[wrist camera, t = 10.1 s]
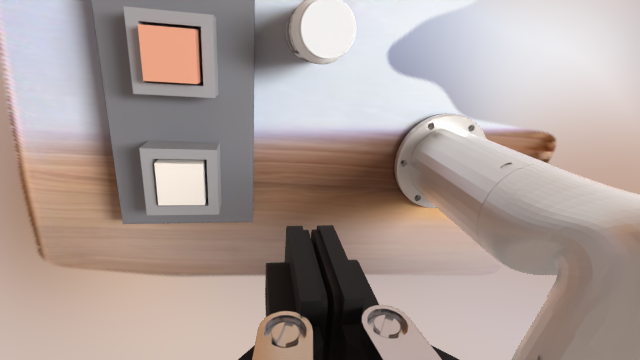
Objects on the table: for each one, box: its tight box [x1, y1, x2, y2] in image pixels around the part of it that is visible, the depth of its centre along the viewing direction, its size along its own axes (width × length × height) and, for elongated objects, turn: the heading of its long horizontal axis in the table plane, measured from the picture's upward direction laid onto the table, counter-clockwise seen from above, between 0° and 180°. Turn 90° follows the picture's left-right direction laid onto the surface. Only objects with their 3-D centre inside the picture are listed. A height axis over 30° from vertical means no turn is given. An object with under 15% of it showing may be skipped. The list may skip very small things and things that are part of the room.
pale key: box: [154, 159, 208, 205], centre depth 35 cm, size 4×4×3 cm
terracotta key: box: [138, 24, 203, 84], centre depth 30 cm, size 4×4×3 cm
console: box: [91, 0, 255, 224], centre depth 35 cm, size 14×24×6 cm, turn 176°
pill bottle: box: [286, 0, 356, 64], centre depth 32 cm, size 6×6×10 cm
